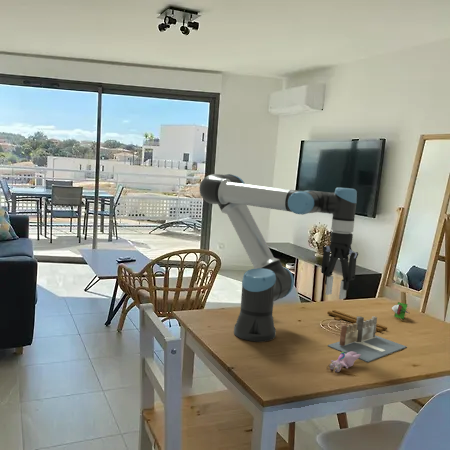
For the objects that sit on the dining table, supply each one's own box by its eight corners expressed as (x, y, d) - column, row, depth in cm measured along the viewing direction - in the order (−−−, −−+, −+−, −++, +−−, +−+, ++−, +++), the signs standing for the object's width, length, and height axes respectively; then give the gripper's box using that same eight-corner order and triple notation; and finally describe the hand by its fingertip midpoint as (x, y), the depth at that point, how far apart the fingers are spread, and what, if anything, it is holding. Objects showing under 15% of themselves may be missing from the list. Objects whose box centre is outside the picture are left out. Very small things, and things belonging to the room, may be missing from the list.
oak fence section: (353, 339, 171) (355, 321, 170) (357, 341, 169) (359, 322, 168) (338, 344, 165) (340, 325, 164) (342, 346, 163) (344, 326, 163)
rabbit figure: (338, 380, 142) (367, 362, 151) (338, 362, 140) (367, 345, 150) (321, 372, 146) (350, 355, 156) (321, 355, 145) (350, 338, 154)
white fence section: (358, 343, 169) (361, 318, 168) (353, 340, 171) (355, 317, 170) (376, 337, 177) (379, 314, 176) (370, 335, 179) (373, 312, 178)
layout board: (367, 362, 153) (367, 361, 153) (327, 346, 165) (327, 344, 165) (406, 347, 169) (406, 346, 169) (367, 333, 181) (367, 332, 181)
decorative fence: (376, 335, 182) (389, 330, 189) (377, 330, 182) (390, 326, 188) (323, 316, 200) (337, 313, 207) (324, 312, 200) (337, 309, 207)
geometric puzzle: (398, 308, 212) (395, 296, 207) (413, 312, 207) (410, 300, 203) (391, 320, 208) (388, 308, 204) (406, 324, 203) (403, 312, 199)
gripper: (370, 235, 161) (363, 301, 164) (327, 227, 175) (321, 288, 178) (358, 236, 156) (350, 304, 159) (314, 228, 170) (308, 291, 173)
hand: (335, 296), depth 168 cm, fingers open, 5 cm apart
